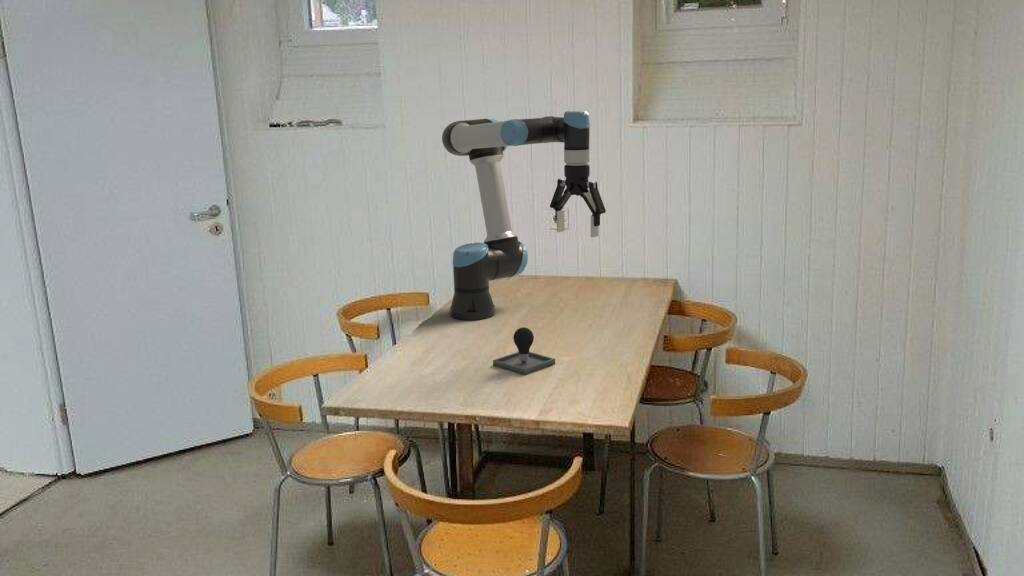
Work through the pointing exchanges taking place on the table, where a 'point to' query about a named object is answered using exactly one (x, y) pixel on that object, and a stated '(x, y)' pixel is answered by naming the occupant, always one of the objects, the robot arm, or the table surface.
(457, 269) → the robot arm
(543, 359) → the tray
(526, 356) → the light bulb
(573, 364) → the table surface
